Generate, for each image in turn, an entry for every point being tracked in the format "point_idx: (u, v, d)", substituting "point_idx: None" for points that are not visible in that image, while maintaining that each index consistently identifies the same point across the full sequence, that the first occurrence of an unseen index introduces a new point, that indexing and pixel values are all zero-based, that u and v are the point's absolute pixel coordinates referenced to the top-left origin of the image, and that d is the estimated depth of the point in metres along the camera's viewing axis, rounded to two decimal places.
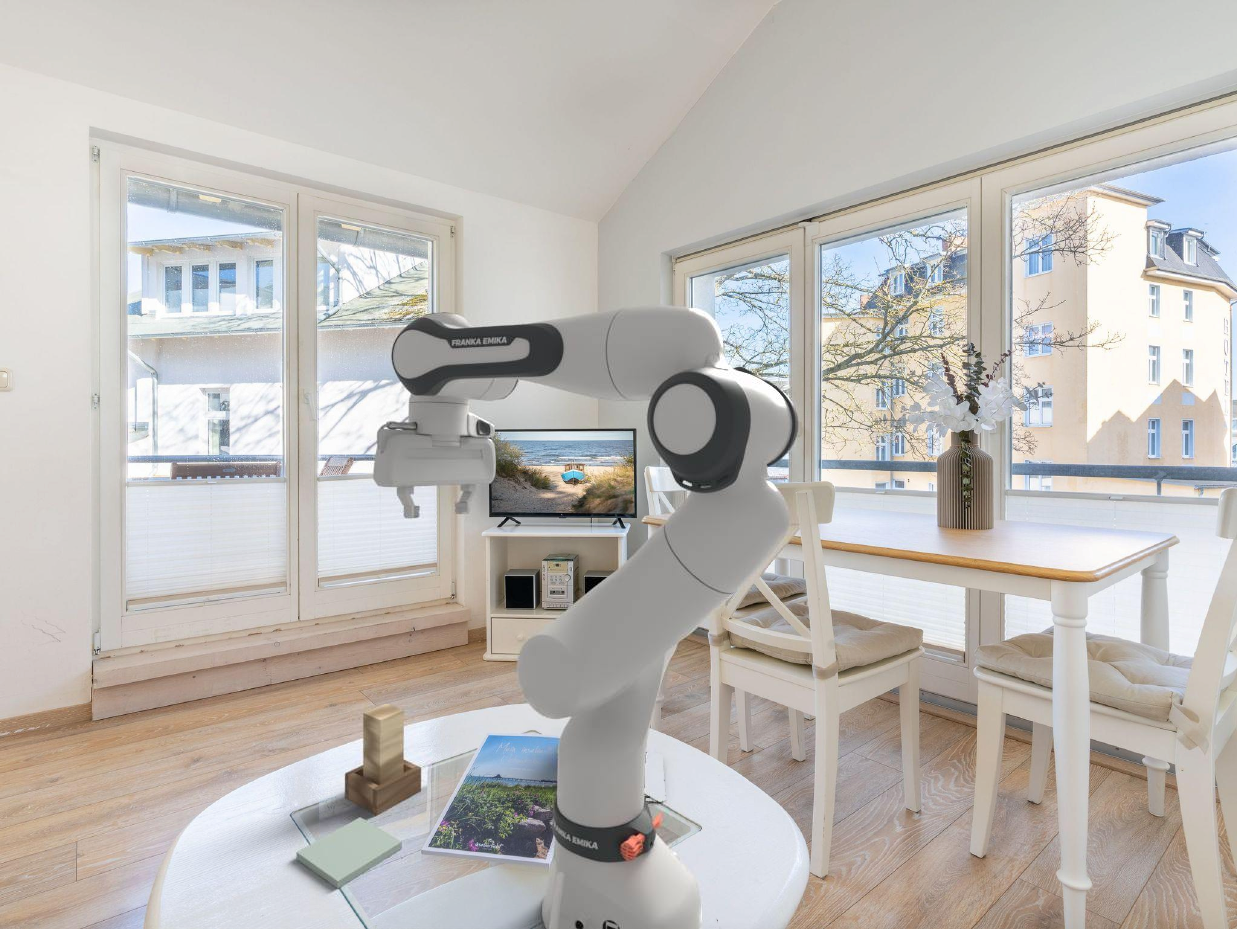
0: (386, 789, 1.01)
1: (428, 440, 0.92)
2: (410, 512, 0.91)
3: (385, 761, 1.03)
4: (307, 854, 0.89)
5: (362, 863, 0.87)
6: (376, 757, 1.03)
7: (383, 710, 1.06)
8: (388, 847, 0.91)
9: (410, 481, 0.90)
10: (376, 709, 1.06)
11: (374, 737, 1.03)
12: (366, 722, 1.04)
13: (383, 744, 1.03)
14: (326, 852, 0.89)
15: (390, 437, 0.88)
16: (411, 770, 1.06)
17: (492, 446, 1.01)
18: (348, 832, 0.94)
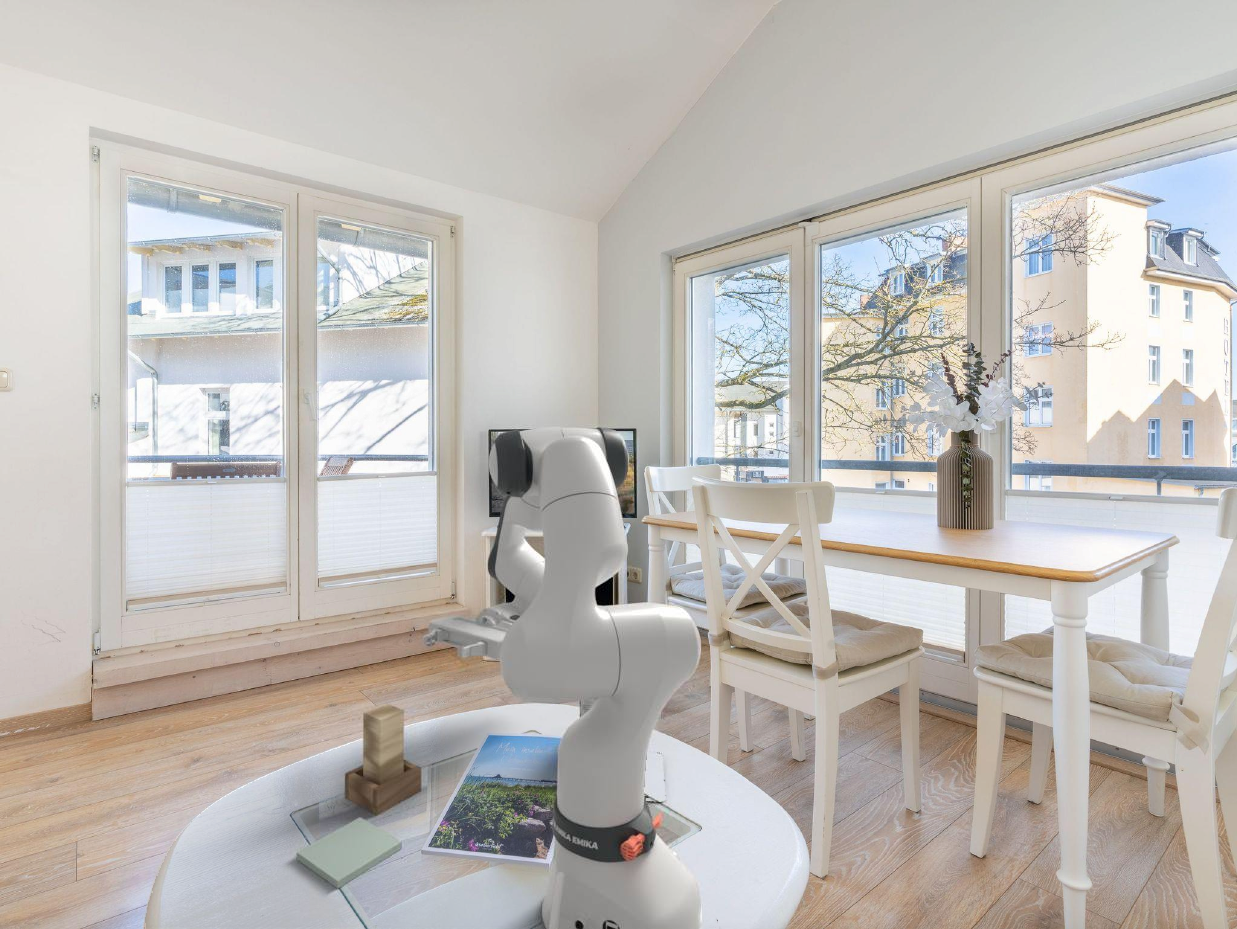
0: (386, 789, 1.01)
1: (475, 619, 1.26)
2: None
3: (385, 761, 1.03)
4: (307, 854, 0.89)
5: (362, 863, 0.87)
6: (376, 757, 1.03)
7: (383, 710, 1.06)
8: (388, 847, 0.91)
9: (441, 623, 1.23)
10: (376, 709, 1.06)
11: (374, 737, 1.03)
12: (366, 722, 1.04)
13: (383, 744, 1.03)
14: (326, 852, 0.89)
15: None
16: (411, 770, 1.06)
17: None
18: (348, 832, 0.94)
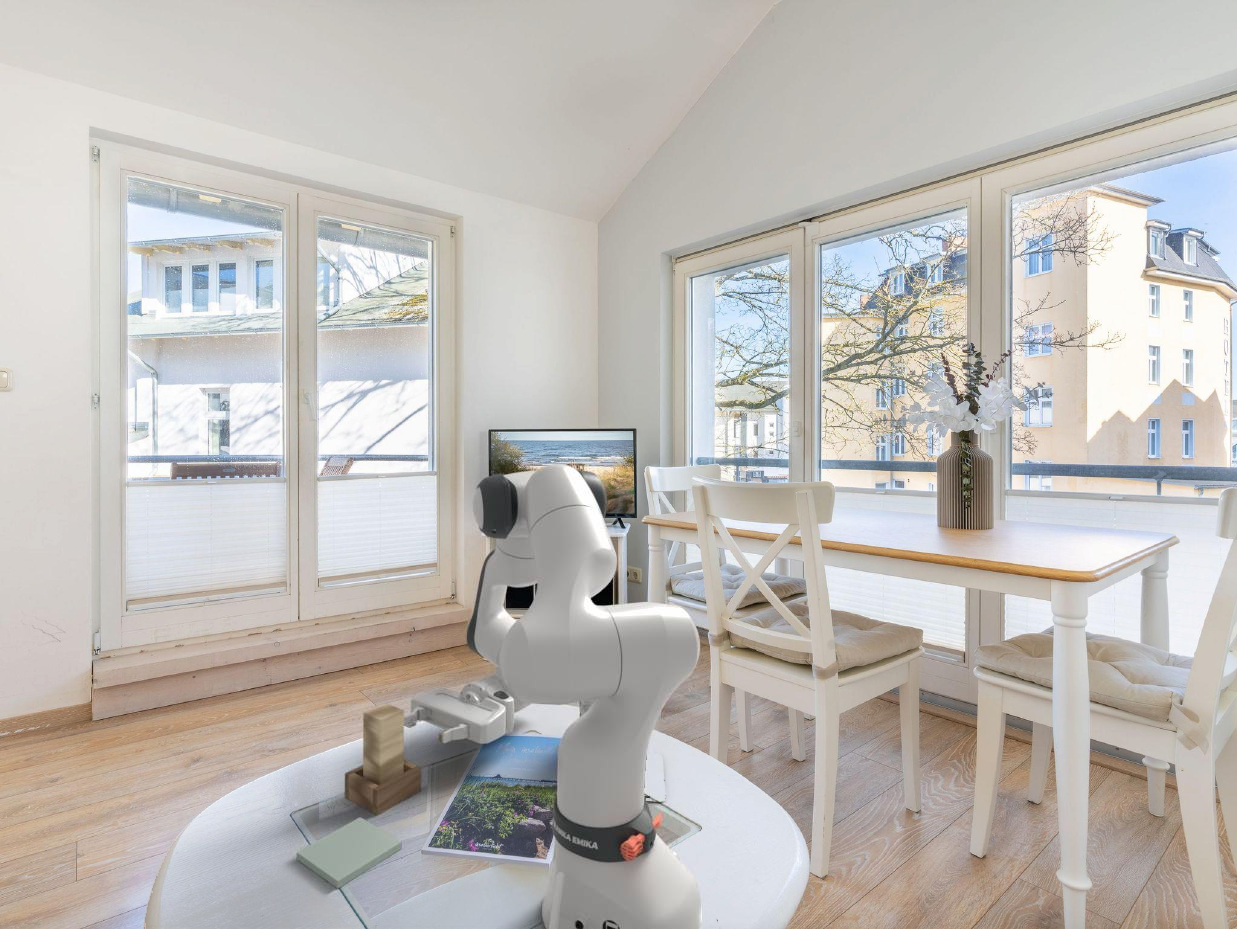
0: (386, 789, 1.01)
1: (459, 694, 1.23)
2: None
3: (385, 761, 1.03)
4: (307, 854, 0.89)
5: (362, 863, 0.87)
6: (376, 757, 1.03)
7: (383, 710, 1.06)
8: (388, 847, 0.91)
9: (424, 700, 1.20)
10: (376, 709, 1.06)
11: (374, 737, 1.03)
12: (366, 722, 1.04)
13: (383, 744, 1.03)
14: (326, 852, 0.89)
15: None
16: (411, 770, 1.06)
17: (501, 707, 1.16)
18: (348, 832, 0.94)
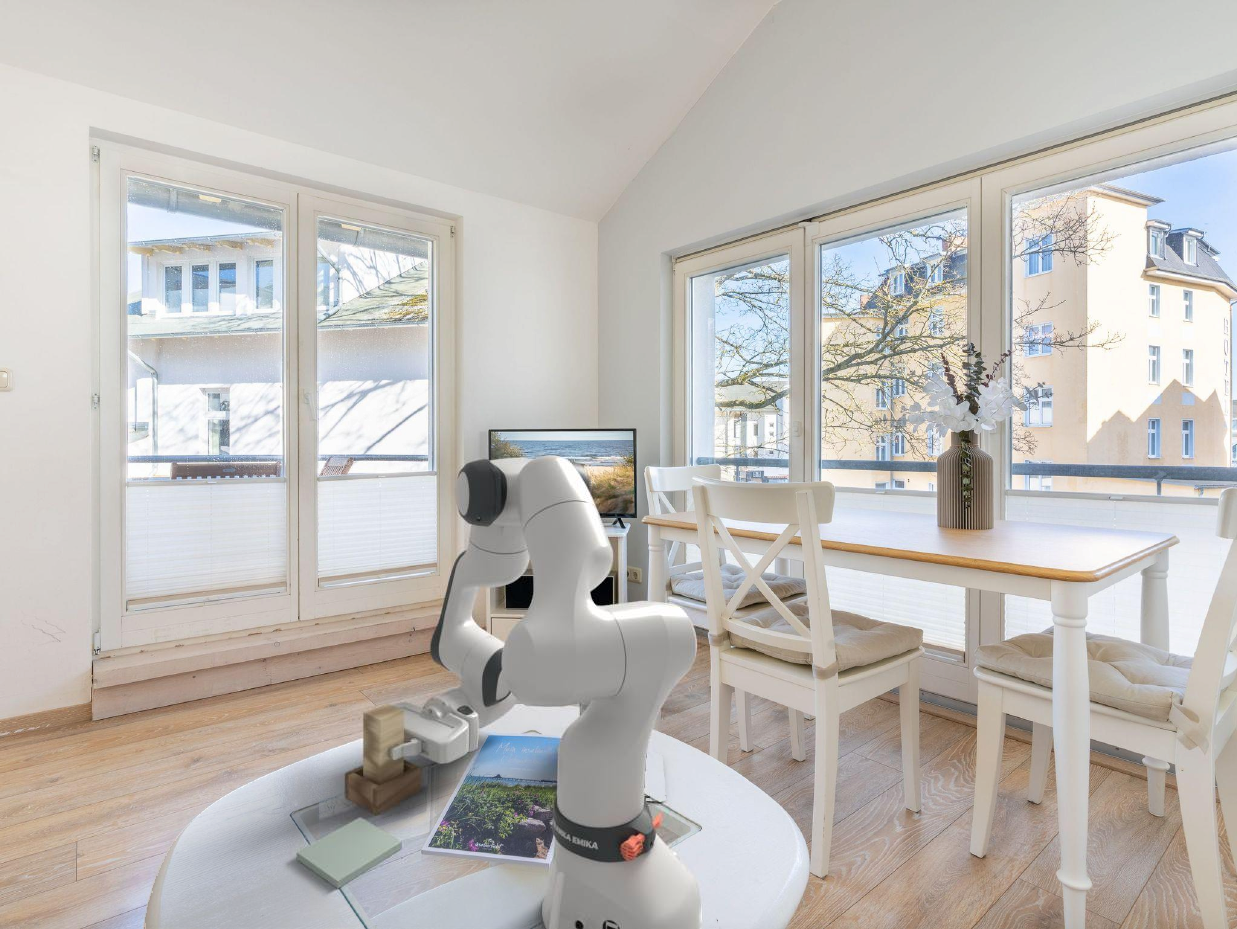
0: (386, 789, 1.01)
1: (421, 709, 1.16)
2: None
3: (385, 761, 1.03)
4: (307, 854, 0.89)
5: (362, 863, 0.87)
6: (376, 757, 1.03)
7: (383, 710, 1.06)
8: (388, 847, 0.91)
9: None
10: (376, 709, 1.06)
11: (374, 737, 1.03)
12: (366, 722, 1.04)
13: (383, 744, 1.03)
14: (326, 852, 0.89)
15: None
16: (411, 770, 1.06)
17: (464, 724, 1.09)
18: (348, 832, 0.94)
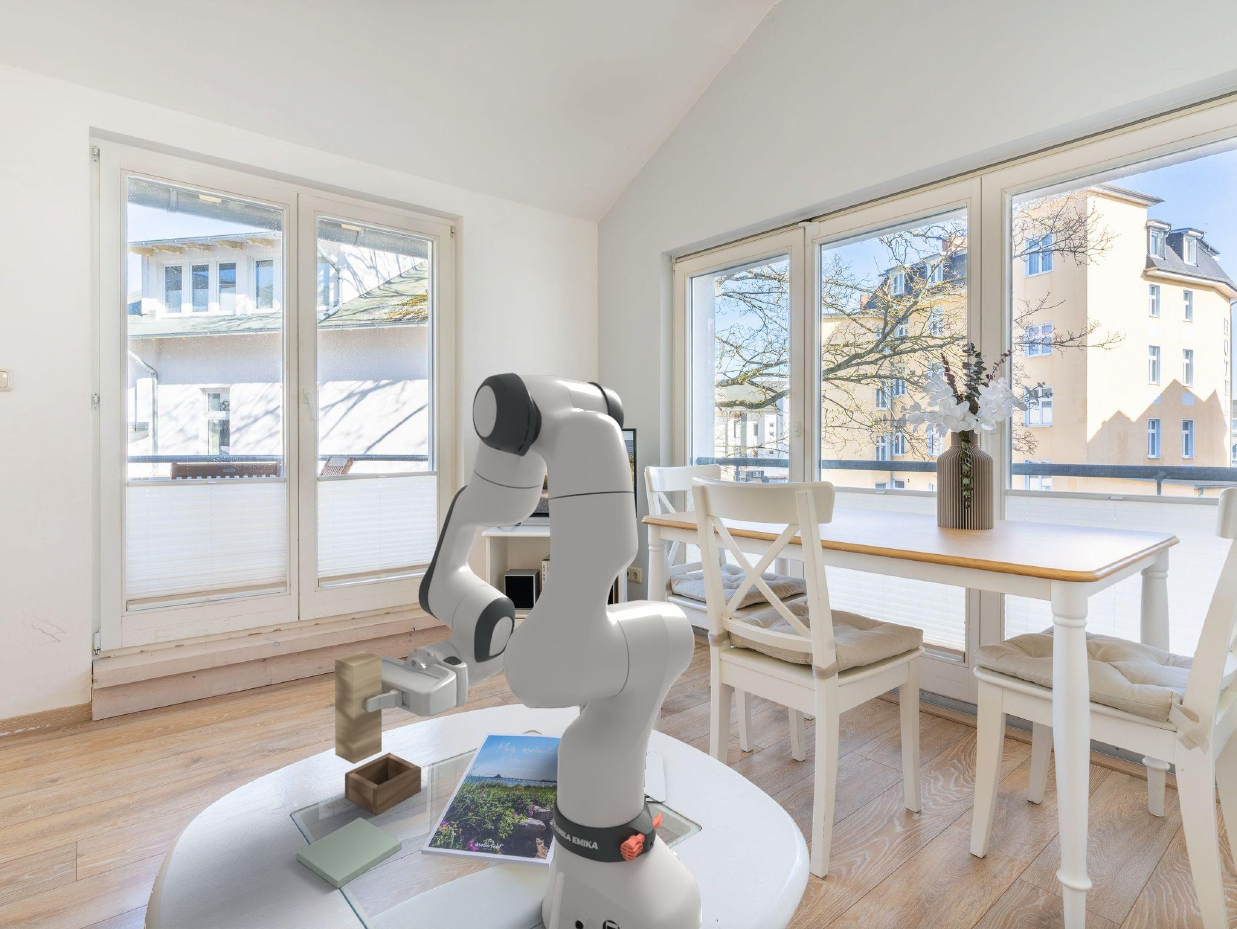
0: (386, 789, 1.01)
1: (404, 661, 1.03)
2: None
3: (360, 714, 0.90)
4: (307, 854, 0.89)
5: (362, 863, 0.87)
6: (349, 709, 0.90)
7: (358, 656, 0.93)
8: (388, 847, 0.91)
9: None
10: (350, 656, 0.93)
11: (347, 686, 0.90)
12: (338, 670, 0.91)
13: (357, 694, 0.90)
14: (326, 852, 0.89)
15: None
16: (411, 770, 1.06)
17: (450, 674, 0.96)
18: (348, 832, 0.94)
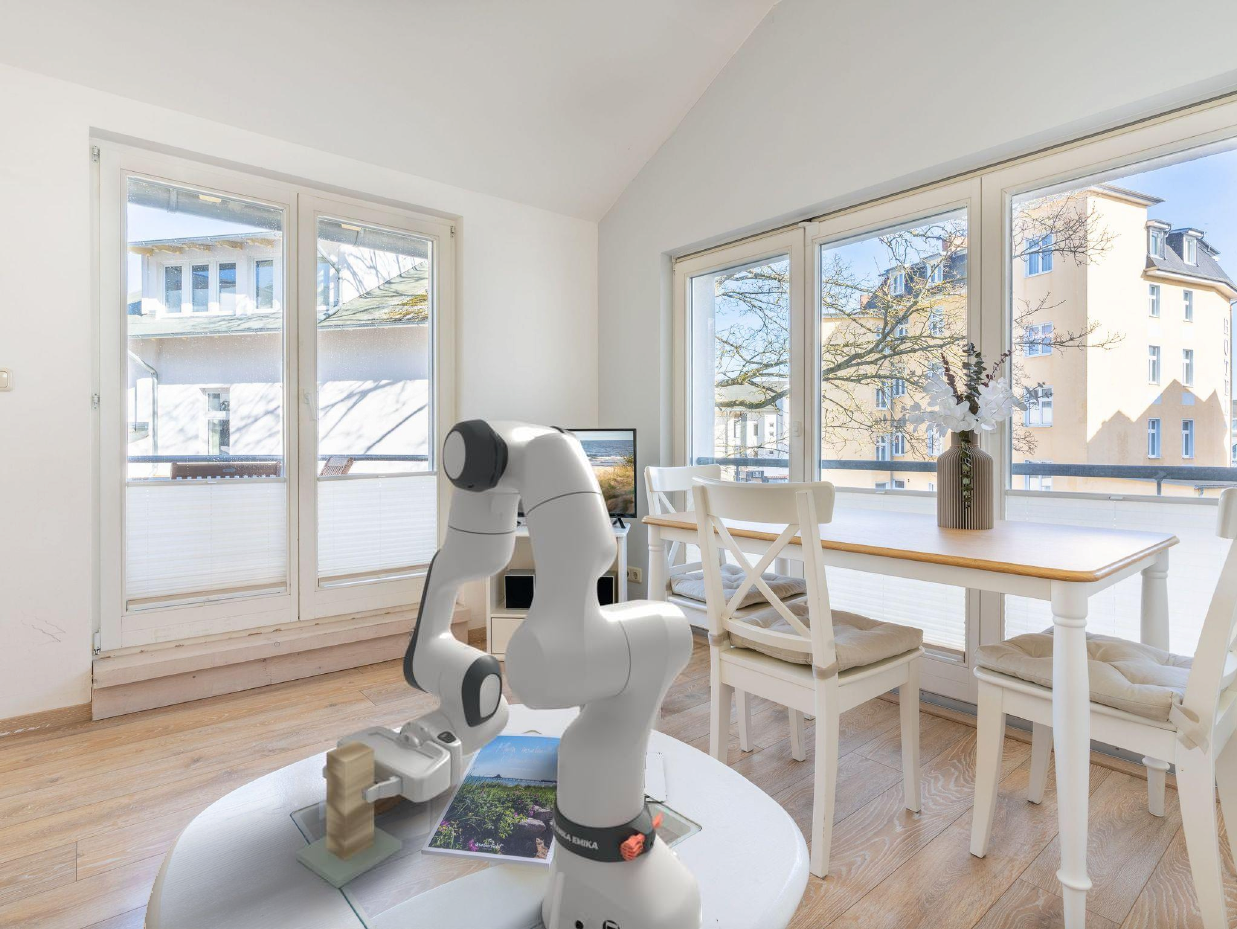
0: None
1: (397, 735, 1.01)
2: None
3: (352, 810, 0.88)
4: (307, 854, 0.89)
5: (362, 863, 0.87)
6: (340, 805, 0.88)
7: (350, 749, 0.91)
8: (388, 847, 0.91)
9: None
10: (342, 748, 0.91)
11: (338, 781, 0.88)
12: (330, 764, 0.89)
13: (348, 790, 0.88)
14: (326, 852, 0.89)
15: None
16: None
17: (444, 754, 0.94)
18: None
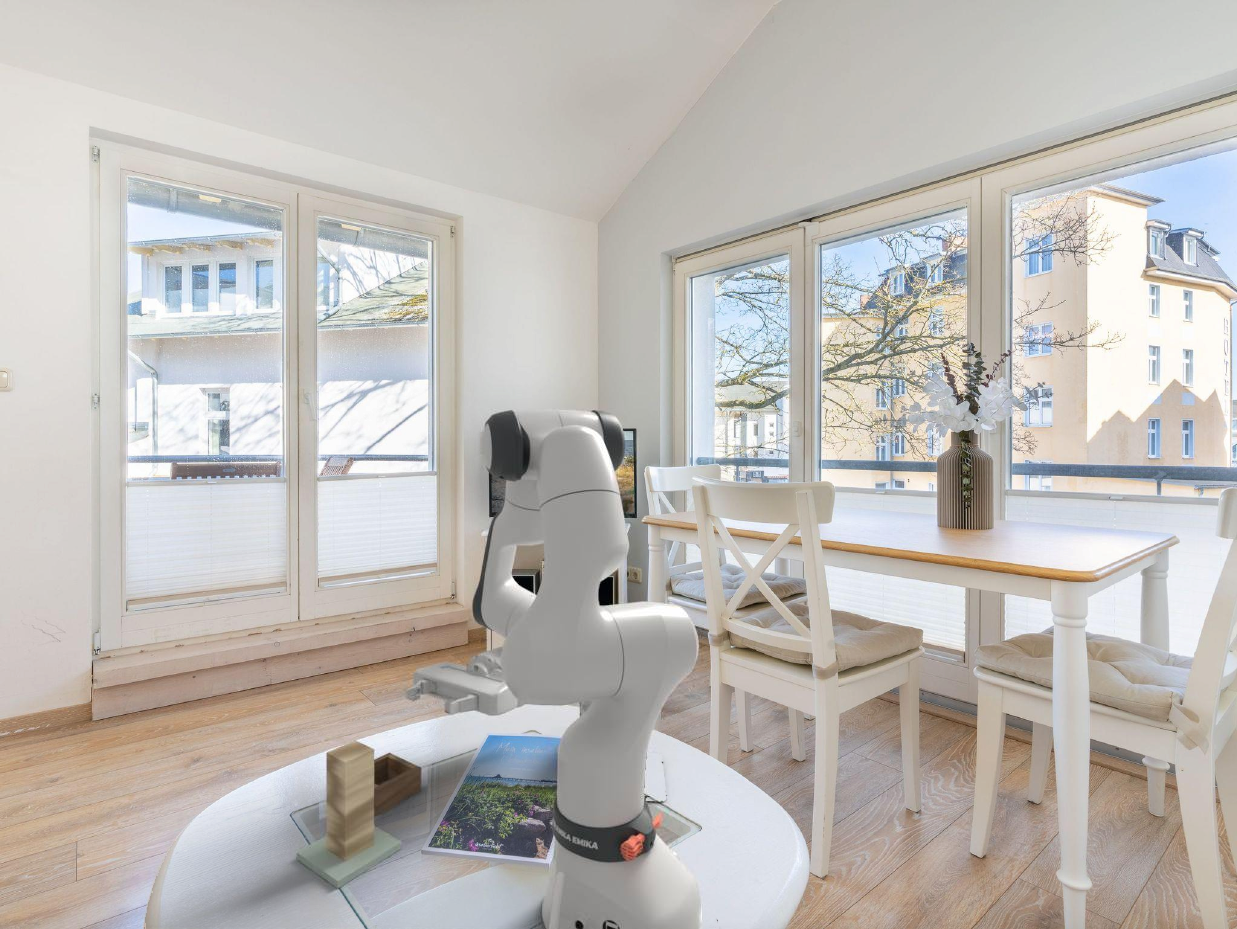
0: (386, 789, 1.01)
1: (466, 667, 1.13)
2: None
3: (352, 810, 0.88)
4: (307, 854, 0.89)
5: (362, 863, 0.87)
6: (340, 805, 0.88)
7: (350, 749, 0.91)
8: (388, 847, 0.91)
9: (428, 673, 1.10)
10: (342, 748, 0.91)
11: (338, 781, 0.88)
12: (330, 764, 0.89)
13: (348, 790, 0.88)
14: (326, 852, 0.89)
15: None
16: (411, 770, 1.06)
17: None
18: None
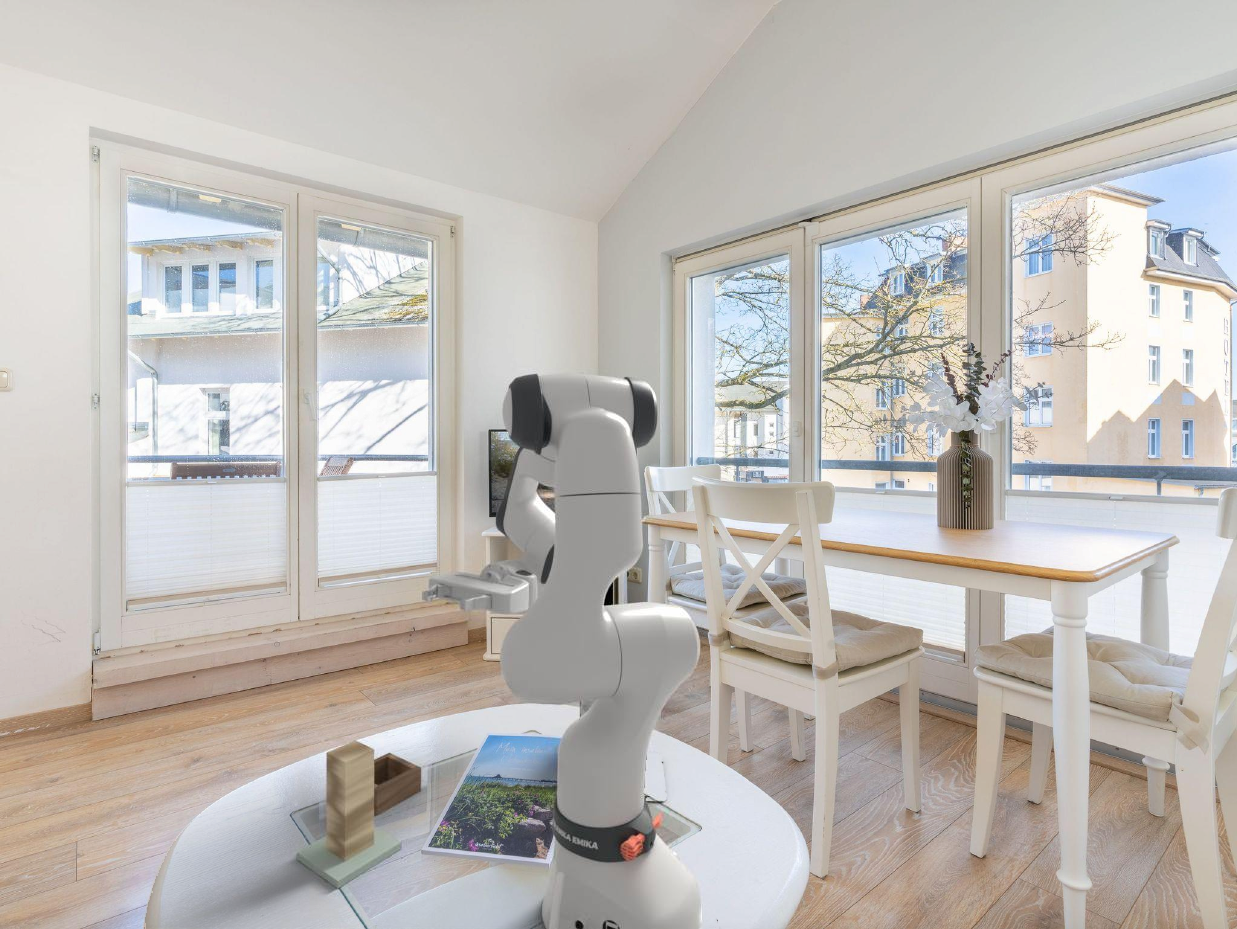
0: (386, 789, 1.01)
1: (479, 575, 1.18)
2: None
3: (352, 810, 0.88)
4: (307, 854, 0.89)
5: (362, 863, 0.87)
6: (340, 805, 0.88)
7: (350, 749, 0.91)
8: (388, 847, 0.91)
9: (443, 579, 1.15)
10: (342, 748, 0.91)
11: (338, 781, 0.88)
12: (330, 764, 0.89)
13: (348, 790, 0.88)
14: (326, 852, 0.89)
15: None
16: (411, 770, 1.06)
17: (524, 582, 1.11)
18: None
